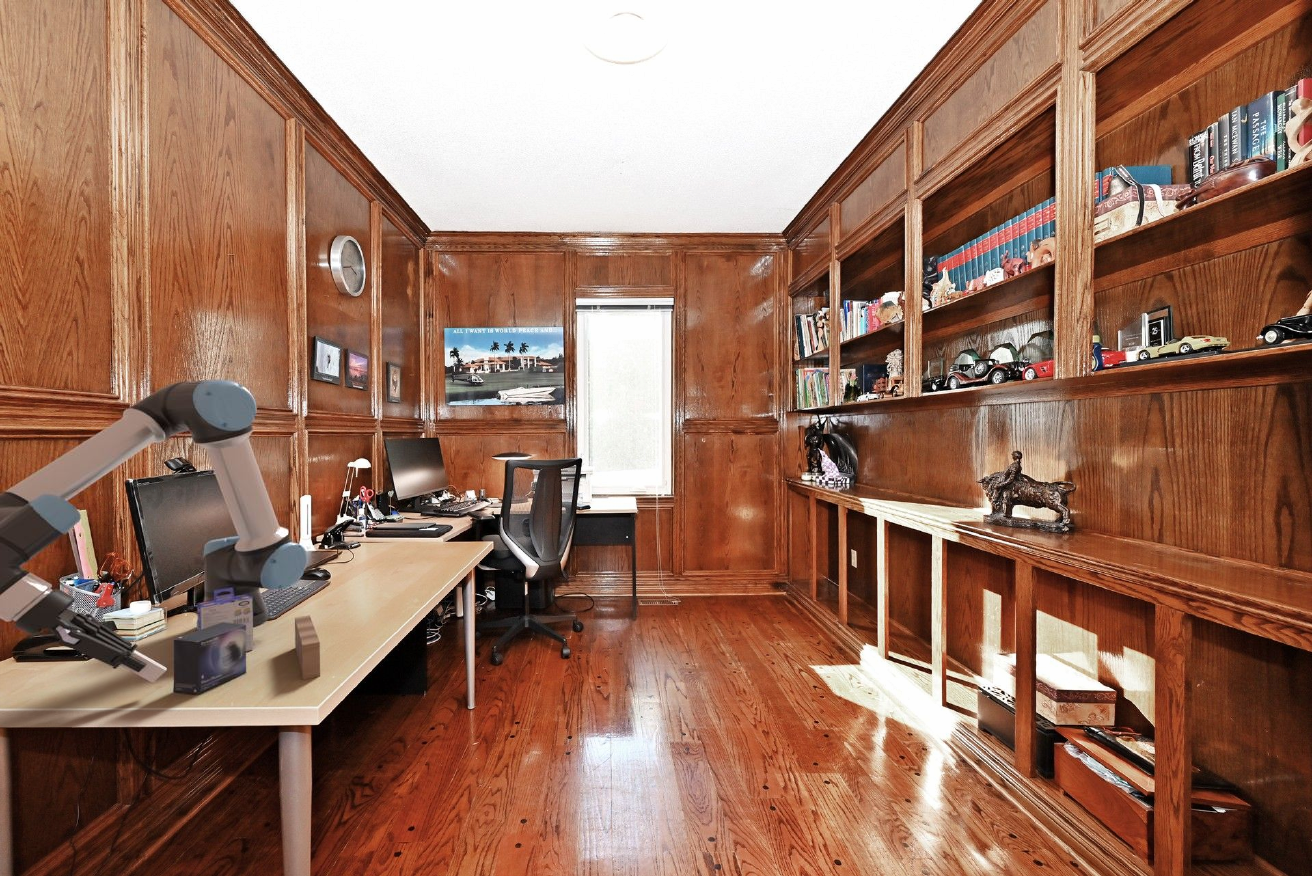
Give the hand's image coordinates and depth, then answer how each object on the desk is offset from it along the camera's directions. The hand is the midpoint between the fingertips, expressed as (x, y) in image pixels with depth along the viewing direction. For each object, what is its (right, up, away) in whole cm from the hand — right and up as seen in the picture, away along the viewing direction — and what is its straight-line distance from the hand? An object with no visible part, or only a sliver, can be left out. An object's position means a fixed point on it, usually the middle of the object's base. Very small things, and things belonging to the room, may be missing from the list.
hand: (160, 675), depth 111 cm
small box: (+6, -4, +5) cm, 9 cm away
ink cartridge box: (-3, -4, +21) cm, 21 cm away
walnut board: (+19, -3, +15) cm, 25 cm away
